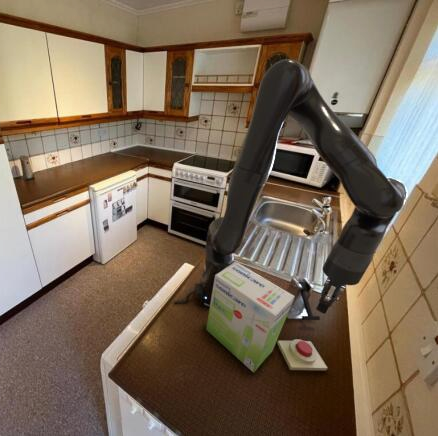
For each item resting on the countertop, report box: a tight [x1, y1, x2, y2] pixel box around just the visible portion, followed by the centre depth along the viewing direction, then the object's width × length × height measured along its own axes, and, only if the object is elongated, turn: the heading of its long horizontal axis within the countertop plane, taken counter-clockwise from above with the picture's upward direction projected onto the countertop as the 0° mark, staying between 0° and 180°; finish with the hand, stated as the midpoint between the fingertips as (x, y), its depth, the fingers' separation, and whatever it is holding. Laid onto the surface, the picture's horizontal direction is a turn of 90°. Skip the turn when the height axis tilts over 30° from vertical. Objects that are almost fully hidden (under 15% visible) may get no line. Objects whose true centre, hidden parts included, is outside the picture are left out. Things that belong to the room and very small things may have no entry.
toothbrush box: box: [205, 261, 295, 374], centre depth 69 cm, size 18×10×24 cm, turn 37°
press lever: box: [298, 280, 321, 321], centre depth 78 cm, size 12×5×2 cm
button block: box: [276, 339, 328, 371], centre depth 69 cm, size 10×8×4 cm
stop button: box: [296, 340, 312, 357], centre depth 68 cm, size 4×4×2 cm
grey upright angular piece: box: [286, 277, 315, 320], centre depth 83 cm, size 10×8×13 cm
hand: (321, 310), depth 65 cm, fingers closed
